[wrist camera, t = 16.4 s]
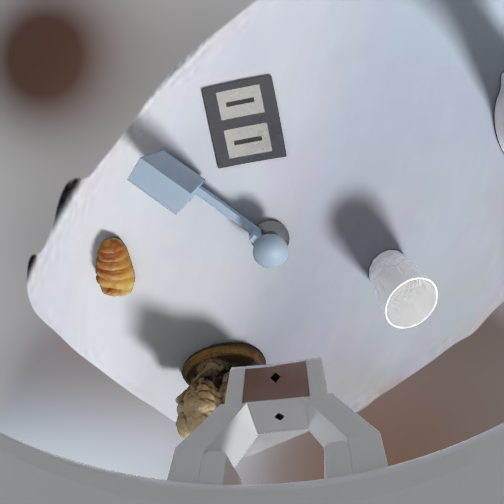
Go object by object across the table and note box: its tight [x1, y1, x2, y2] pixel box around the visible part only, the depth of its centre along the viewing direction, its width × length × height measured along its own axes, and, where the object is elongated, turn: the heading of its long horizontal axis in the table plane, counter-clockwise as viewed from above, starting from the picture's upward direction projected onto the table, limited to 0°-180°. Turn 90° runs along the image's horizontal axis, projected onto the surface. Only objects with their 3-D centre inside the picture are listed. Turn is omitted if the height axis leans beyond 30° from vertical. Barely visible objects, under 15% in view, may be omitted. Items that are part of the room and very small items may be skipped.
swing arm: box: [127, 150, 288, 268], centre depth 37 cm, size 21×4×8 cm, turn 53°
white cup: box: [369, 250, 438, 328], centre depth 40 cm, size 8×8×10 cm
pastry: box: [96, 238, 135, 296], centre depth 45 cm, size 9×7×4 cm
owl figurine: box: [176, 342, 266, 439], centre depth 47 cm, size 18×12×17 cm, turn 124°
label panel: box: [202, 75, 286, 168], centre depth 37 cm, size 9×11×1 cm
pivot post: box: [253, 220, 289, 246], centre depth 41 cm, size 5×5×4 cm
